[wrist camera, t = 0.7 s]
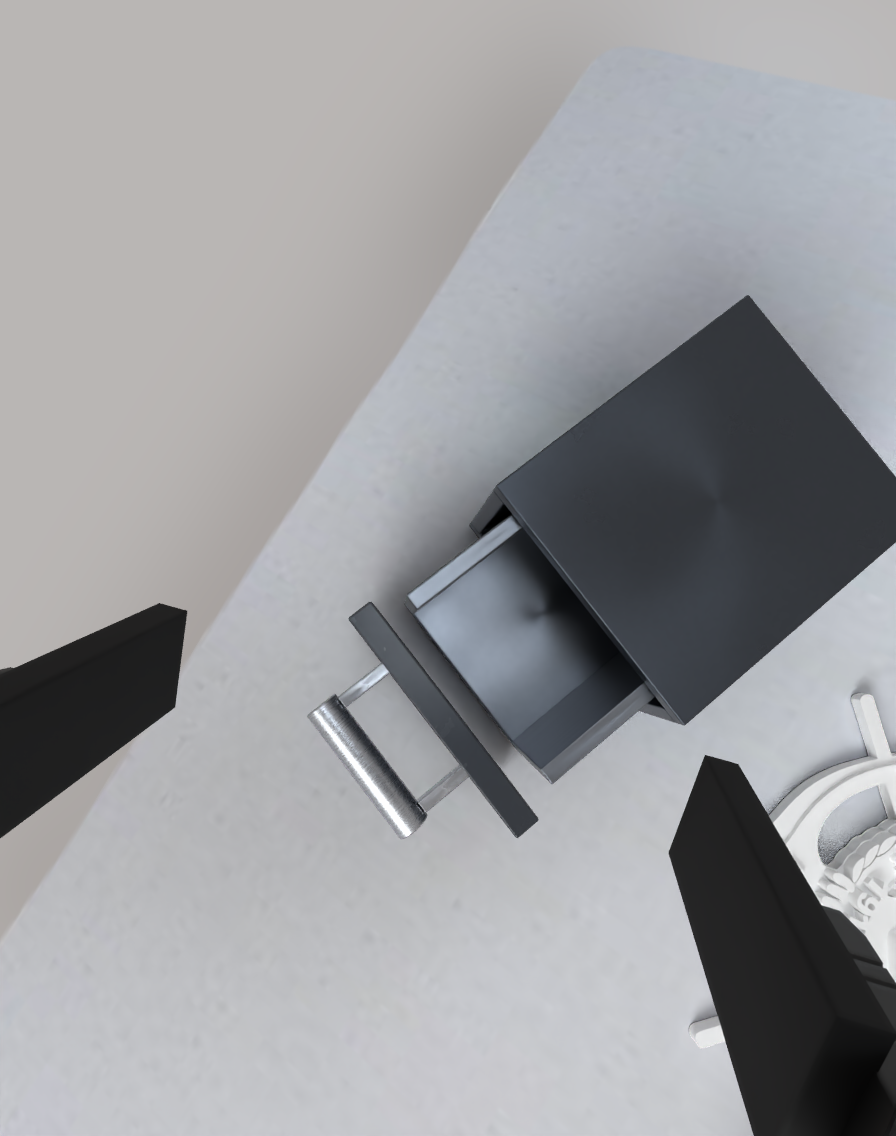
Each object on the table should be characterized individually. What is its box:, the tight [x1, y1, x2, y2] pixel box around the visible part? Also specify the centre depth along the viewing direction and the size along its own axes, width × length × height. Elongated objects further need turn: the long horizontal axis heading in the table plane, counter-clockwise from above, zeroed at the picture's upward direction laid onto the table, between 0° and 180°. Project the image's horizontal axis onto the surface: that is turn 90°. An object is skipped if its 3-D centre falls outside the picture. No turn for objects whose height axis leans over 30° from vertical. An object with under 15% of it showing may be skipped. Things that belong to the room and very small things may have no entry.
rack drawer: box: [307, 514, 655, 839], centre depth 30 cm, size 18×11×8 cm, turn 128°
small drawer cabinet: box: [470, 295, 896, 725], centre depth 31 cm, size 15×13×10 cm
